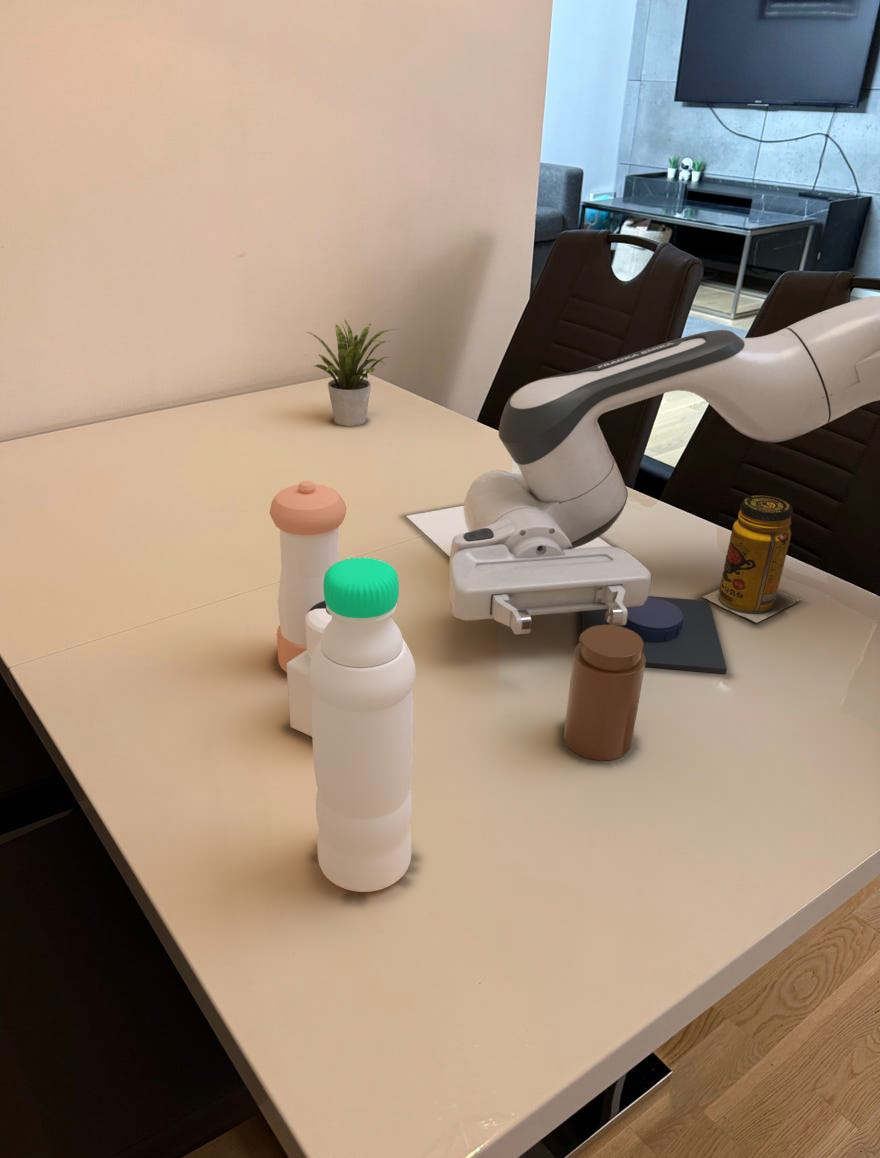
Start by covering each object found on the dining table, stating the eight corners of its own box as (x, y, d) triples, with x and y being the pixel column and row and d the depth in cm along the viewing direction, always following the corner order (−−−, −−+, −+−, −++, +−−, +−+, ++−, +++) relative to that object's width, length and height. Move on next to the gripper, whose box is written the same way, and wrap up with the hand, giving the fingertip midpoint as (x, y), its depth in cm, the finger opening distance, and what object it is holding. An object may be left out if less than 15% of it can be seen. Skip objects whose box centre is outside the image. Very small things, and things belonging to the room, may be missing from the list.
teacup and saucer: (516, 554, 116) (518, 524, 114) (485, 528, 122) (487, 499, 120) (576, 542, 119) (580, 512, 117) (543, 517, 126) (546, 489, 123)
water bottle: (402, 903, 69) (407, 602, 55) (307, 889, 70) (290, 591, 56) (417, 835, 74) (425, 549, 61) (330, 824, 75) (319, 540, 62)
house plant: (417, 422, 158) (419, 321, 149) (357, 442, 149) (356, 337, 140) (357, 402, 166) (356, 306, 157) (297, 421, 157) (293, 320, 149)
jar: (628, 722, 87) (645, 624, 82) (633, 763, 82) (651, 662, 77) (563, 716, 88) (575, 619, 82) (564, 757, 83) (577, 656, 77)
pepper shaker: (346, 637, 99) (342, 465, 89) (355, 676, 93) (352, 495, 83) (276, 643, 98) (264, 469, 88) (281, 682, 92) (268, 500, 82)
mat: (708, 605, 106) (708, 600, 106) (725, 673, 94) (727, 668, 94) (581, 595, 108) (582, 590, 108) (583, 661, 96) (584, 656, 96)
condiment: (701, 598, 108) (721, 500, 101) (746, 577, 112) (768, 482, 106) (756, 624, 103) (780, 523, 96) (801, 602, 107) (827, 503, 101)
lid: (605, 620, 102) (607, 606, 101) (650, 605, 105) (652, 591, 104) (648, 648, 97) (650, 633, 96) (693, 632, 100) (696, 617, 99)
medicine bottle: (337, 691, 91) (334, 581, 85) (398, 717, 88) (399, 605, 81) (288, 728, 86) (281, 614, 80) (350, 757, 83) (347, 640, 76)
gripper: (618, 576, 104) (670, 642, 92) (435, 590, 101) (466, 660, 89) (626, 523, 100) (681, 585, 89) (437, 536, 97) (469, 602, 86)
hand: (572, 623), depth 89 cm, fingers open, 8 cm apart
